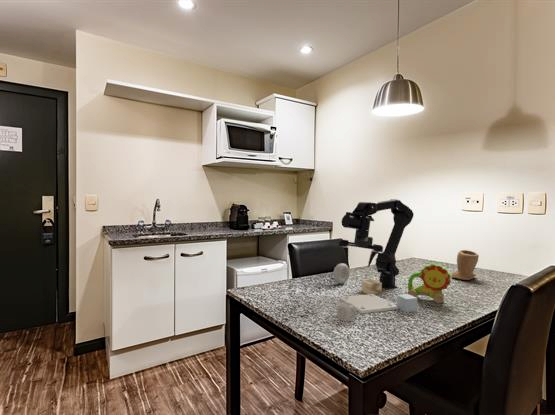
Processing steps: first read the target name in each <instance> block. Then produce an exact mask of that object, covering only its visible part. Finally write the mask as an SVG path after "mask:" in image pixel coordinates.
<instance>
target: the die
mask: <svg viewBox="0 0 555 415" xmlns="http://www.w3.org/2000/svg"><path fill="white" fill-rule="evenodd" d="M357 312H358V311H357V310H356V307H355V306H354V305H353V304H351V303H346V302H340V303H339V304H338V305H337V308H336V316H337V318H338V319H339V320H340V321H342V322H346V323H347V322H348V323H350V322H354V321H355V319H356V317H357Z"/></svg>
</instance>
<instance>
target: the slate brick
mask: <svg viewBox="0 0 555 415" xmlns="http://www.w3.org/2000/svg"><path fill="white" fill-rule="evenodd" d="M396 306H398V309H397V310H400V311H403V312H404V313H412V312H418V297H417V296H416V297H414V296H411V295H409V294H407V293H405V294H403V293H402V294H397V295H396Z"/></svg>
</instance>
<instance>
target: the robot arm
mask: <svg viewBox="0 0 555 415" xmlns="http://www.w3.org/2000/svg"><path fill="white" fill-rule="evenodd" d="M386 210H390V212H391V213H392V215H393V223H394V225H393V227H392V229H391V232H390V234H389V237H388V241H387V242H386V246H385V248H384V246H383V245H381V244H375V243H373V241H374V238H373V237H372V236H369V233H370V228H371V227H370V226H371V222H375V219H374V218H373V217H372V215H375V214H377V213H378V212H380V211H386ZM413 218H414V212H413V210H412V209H411V208H410V207H409V206H408V205H407V204H404V203H403V202H402V201H401V200H400V199H398V198H397V199H394V198H393V199H392V198H391V199H388V200H383V201H382V200H381V201H376V202H370V201H369V202H365V201H363V202H362V201H360V202H358V203H357V205H356V207H355V208H354V210H352V212H345V214H344V215H343V216H342V218H341V225H342V227H343V228H345V229H347V228H348V229H354V230H355V234H354V241H353V242H352V241H349V240H348V239H342V238H341V239H339V242H338V246H340V247H341V249H343V250H344V253H345V260H346V263H347V264H348V263H349V247H354V248H359V249H368V250H371V251H370V255H369V260H368V263H367V264H368V265H367V267H370V266H371V264H372V261H373V259H374V258H375V256H376V255H377V256H376V258H375V267H376V269H377V270H376V271H377V273H380V275H379V279H378V282H381V283H382V288H384V289H394V288H398V286H397V285H396V276H398V275H399V273H400V270H399V268H398V267H397V266H396V264H397V258H396V253H397V250H398V247H399V244H400V241H401V239H402V236H403V234H404V231H405V228H406V227H407V226H408V225H410V224H411V222H412V220H413Z"/></svg>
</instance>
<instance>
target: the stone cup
mask: <svg viewBox="0 0 555 415" xmlns="http://www.w3.org/2000/svg"><path fill="white" fill-rule="evenodd" d="M479 257H480V256H479V253H477V252H475V251H472V250H470V249H469V250H468V249H461V250H459V251H458V253H457V256H456V264H457V270H456V271H455V272H452V273H450V275H451V277H452V278H455V279H459V280H464V281H469V280H472V279H475V277H476V276H477V273H475V272H474V270H475V268H476V266H477V264H478V262H479Z"/></svg>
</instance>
